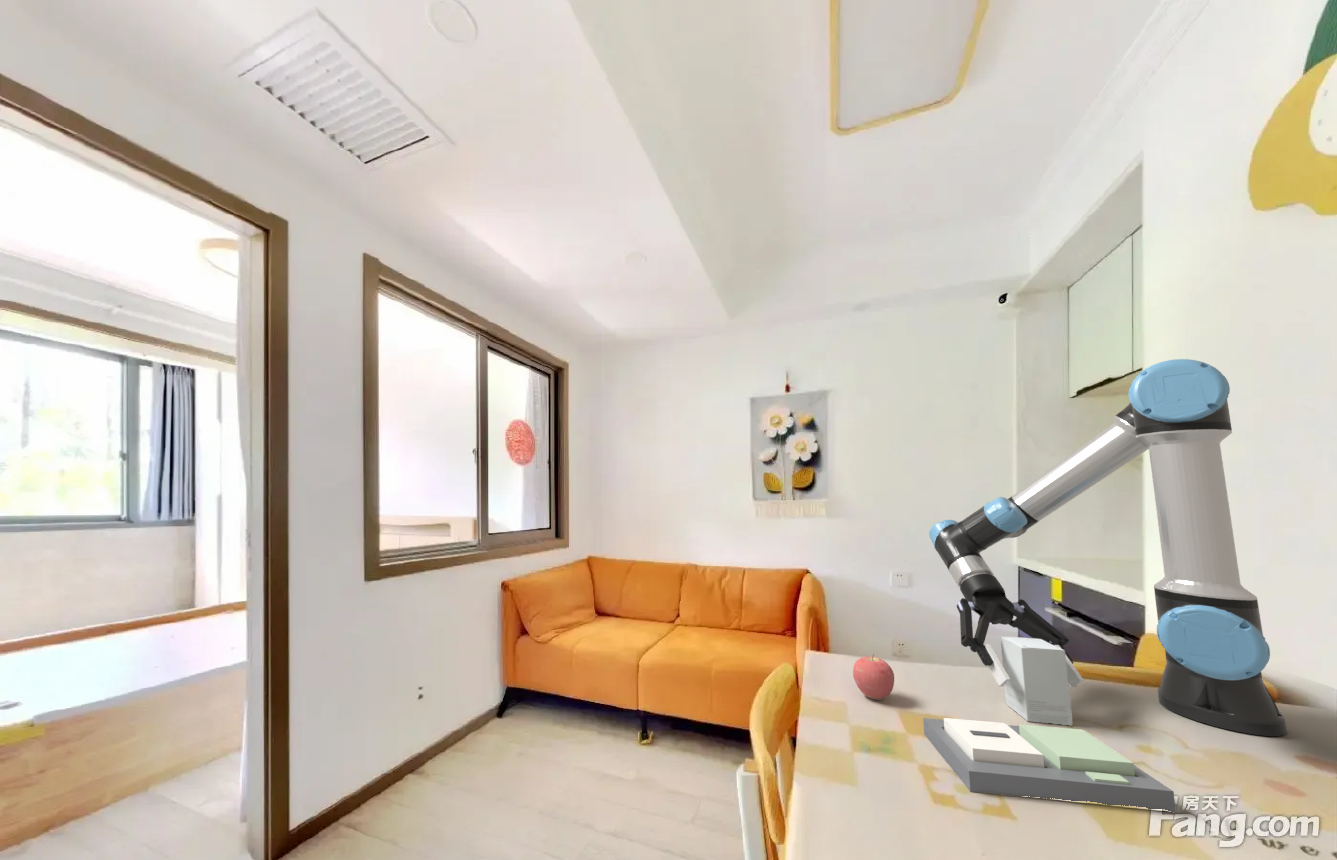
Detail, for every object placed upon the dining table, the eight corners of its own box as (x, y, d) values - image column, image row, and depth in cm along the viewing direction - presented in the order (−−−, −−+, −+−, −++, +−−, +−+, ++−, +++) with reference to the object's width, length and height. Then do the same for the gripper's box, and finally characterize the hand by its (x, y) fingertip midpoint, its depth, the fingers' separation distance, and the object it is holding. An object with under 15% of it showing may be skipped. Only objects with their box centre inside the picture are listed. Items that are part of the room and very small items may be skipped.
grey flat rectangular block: (1085, 748, 72) (1082, 720, 72) (1176, 813, 57) (1171, 776, 58) (924, 734, 75) (922, 707, 76) (970, 791, 60) (967, 757, 61)
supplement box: (1074, 727, 79) (1067, 650, 80) (1026, 722, 80) (1019, 646, 82) (1048, 708, 86) (1041, 638, 88) (1004, 703, 87) (999, 635, 89)
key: (1084, 743, 69) (1082, 729, 70) (1135, 779, 61) (1133, 763, 61) (1020, 738, 71) (1018, 724, 71) (1060, 772, 62) (1059, 756, 62)
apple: (864, 686, 94) (862, 645, 95) (901, 698, 89) (898, 655, 90) (847, 696, 89) (845, 653, 90) (885, 709, 84) (883, 664, 85)
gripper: (1023, 593, 102) (1095, 693, 85) (914, 591, 101) (965, 692, 84) (1041, 572, 97) (1120, 674, 80) (927, 570, 97) (983, 672, 80)
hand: (1041, 683), depth 82 cm, fingers open, 13 cm apart
